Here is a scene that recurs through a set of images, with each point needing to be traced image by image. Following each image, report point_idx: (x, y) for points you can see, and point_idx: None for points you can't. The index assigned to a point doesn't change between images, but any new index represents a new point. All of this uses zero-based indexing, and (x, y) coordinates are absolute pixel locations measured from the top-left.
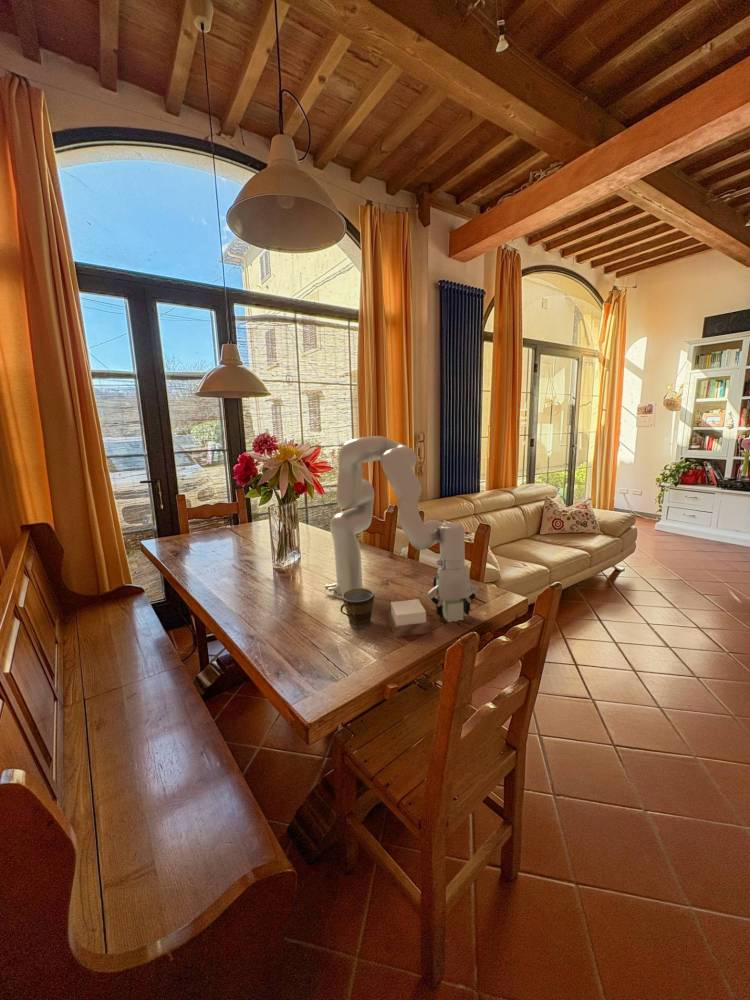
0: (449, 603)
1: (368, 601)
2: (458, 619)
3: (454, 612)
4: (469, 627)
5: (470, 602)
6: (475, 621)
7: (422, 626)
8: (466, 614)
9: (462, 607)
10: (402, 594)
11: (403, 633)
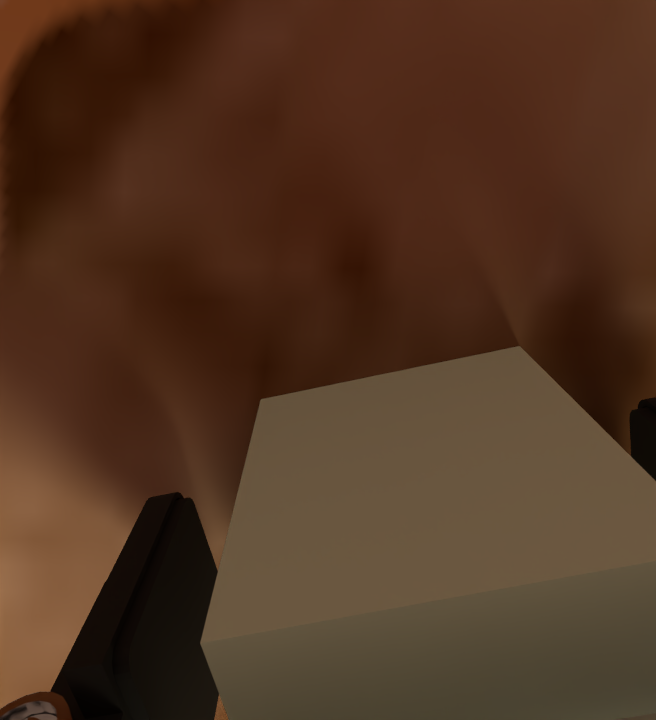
0: (645, 615)
1: None
2: (343, 393)
3: (439, 443)
4: (178, 150)
5: (11, 706)
6: (65, 359)
7: None
8: (192, 501)
9: (245, 539)
10: None
11: None
